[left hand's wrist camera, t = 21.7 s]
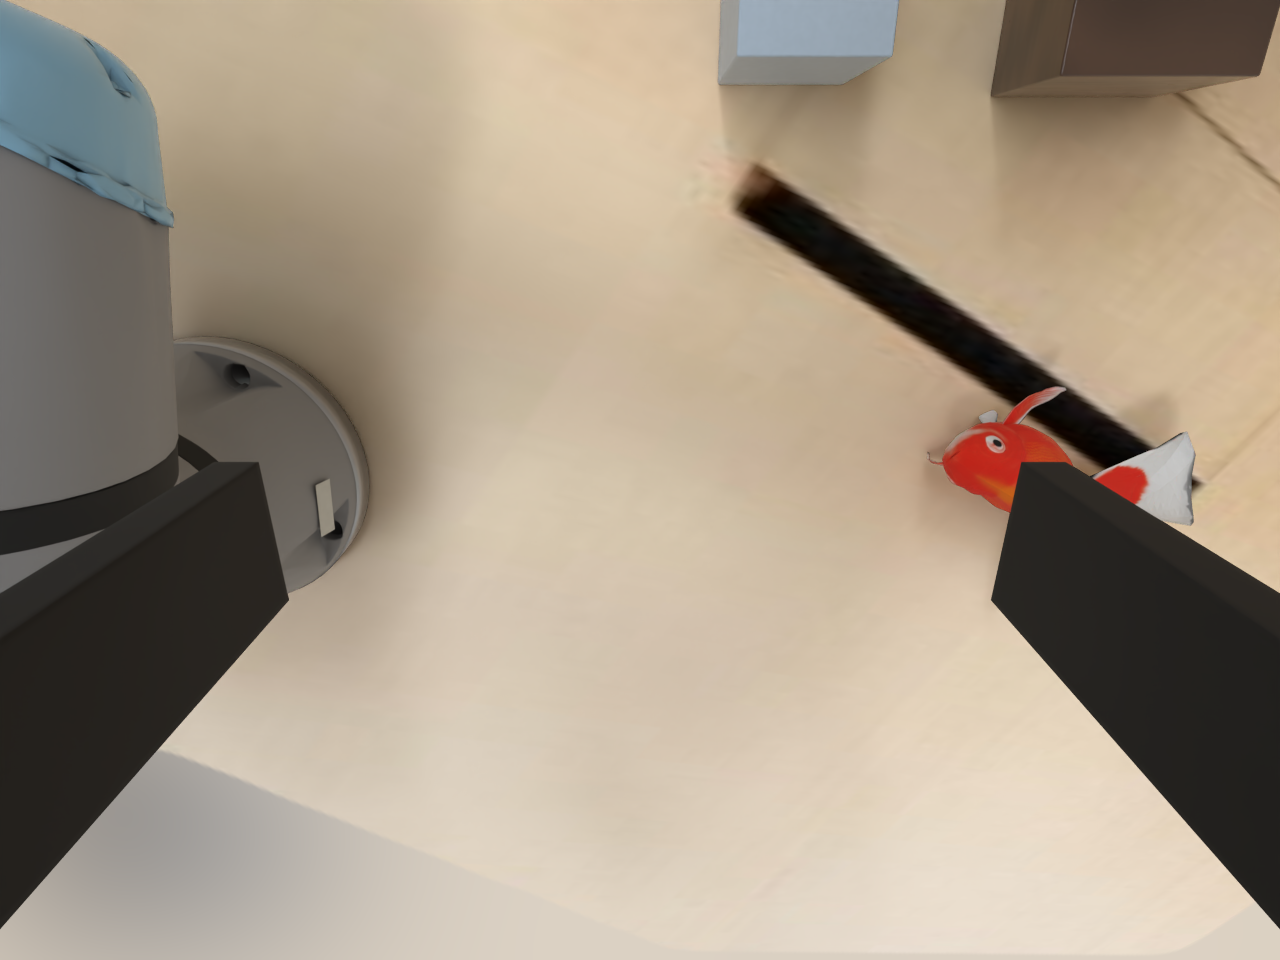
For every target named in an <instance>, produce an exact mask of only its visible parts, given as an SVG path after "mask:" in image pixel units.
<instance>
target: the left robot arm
mask: <svg viewBox="0 0 1280 960" xmlns="http://www.w3.org/2000/svg"><path fill="white" fill-rule="evenodd" d="M173 223H174V217H173V212H172V211H171V210H170V209H168V207H167V204H166V196H165V187H164V179H163V171H162V162H161V154H160V145H159V137H158V127H157V118H156V113H155V110H154V106H153V104H152V101H151V99H150V97H149V95H148V93H147V91H146V89H145V88H144V86H143V84H142V83H141V82H140V80H139V79H138V78H137V77H136V75H135V74H134V73H133V72H132V71H131V70H130V69H129V68H128V67H127V66H126V65H125V64H124V63H123V62H122V61H121V60H120V59H119V58H118V57H116V56H115V55H114V54H113V53H111V52H110V51H109V50H107V49H105V48H104V47H102V46H101V45H99V44H98V43H96V42H95V41H93V40H91V39H89V38H87V37H85V36H83V35H81V34H79V33H78V32H76V31H74V30H72V29H69V28H67V27H65V26H63V25H61V24H58V23H56V22H54V21H52V20H49V19H47V18H45V17H43V16H40V15H38V14H36V13H34V12H31V11H29V10H27V9H24V8H22V7H20V6H17V5H15V4H13V3H10V2H8V1H6V0H0V929H1V927H2V926H3V925H4V924H5V923H6V922H7V921H8V920H9V918H10V917H11V916H12V915H13V914H14V913H15V912H16V910H17V909H18V908H19V907H20V906H21V905H22V904H23V902H24V901H25V900H26V899H27V898H28V897H29V896H30V894H31V893H32V892H33V891H34V890H35V889H36V888H37V886H38V885H39V884H40V883H41V882H42V881H43V880H44V879H45V877H46V876H47V875H48V874H49V873H50V872H51V871H52V869H53V868H54V867H55V866H56V865H57V864H58V863H59V861H60V860H61V859H62V858H63V857H64V856H65V855H66V853H67V852H68V851H69V850H70V849H71V848H72V847H73V845H74V844H75V843H76V842H77V841H78V840H79V839H80V838H81V836H82V835H83V834H84V833H85V832H86V831H87V830H88V828H89V827H90V826H91V825H92V824H93V823H94V822H95V820H96V819H97V818H98V817H99V816H100V815H101V814H102V812H103V811H104V810H105V809H106V808H107V807H108V806H109V804H110V803H111V802H112V801H113V800H114V799H115V798H116V797H117V795H118V794H119V793H120V792H121V791H122V790H123V789H124V787H125V786H126V785H127V784H128V783H129V782H130V781H131V779H132V778H133V777H134V776H135V775H136V774H137V773H138V771H139V770H140V769H141V768H142V767H143V766H144V765H145V763H146V762H147V761H148V760H149V759H150V758H151V757H152V755H153V754H154V753H155V752H156V751H157V750H158V749H159V748H160V746H161V745H162V744H163V743H164V742H165V741H166V740H167V738H168V737H169V736H170V735H171V734H172V733H173V732H174V730H175V729H176V728H177V727H178V726H179V725H180V724H181V723H182V721H183V720H184V719H185V718H186V717H187V716H188V715H189V713H190V712H191V711H192V710H193V709H194V708H195V707H196V705H197V704H198V703H199V702H200V701H201V700H202V699H203V697H204V696H205V695H206V694H207V693H208V692H209V691H210V689H211V688H212V687H213V686H214V685H215V684H216V683H217V681H218V680H219V679H220V678H221V677H222V676H223V675H224V674H225V672H226V671H227V670H228V669H229V668H230V667H231V666H232V664H233V663H234V662H235V661H236V660H237V659H238V658H239V656H240V655H241V654H242V653H243V652H244V651H245V650H246V648H247V647H248V646H249V645H250V644H251V643H252V642H253V640H254V639H255V638H256V637H257V636H258V635H259V634H260V633H261V631H262V630H263V629H264V628H265V627H266V626H267V625H268V623H269V622H270V621H271V620H272V619H273V618H274V617H275V615H276V614H277V613H278V612H279V611H280V610H281V609H282V607H283V606H284V605H285V604H286V603H287V602H288V601H289V598H288V593H290V592H292V591H295V590H297V589H300V588H302V587H304V586H306V585H308V584H310V583H311V582H313V581H315V580H316V579H317V578H319V577H320V576H322V575H323V574H324V573H325V572H326V571H327V570H329V569H330V568H331V567H332V566H333V564H334V563H335V562H336V561H337V560H338V559H339V558H340V556H341V555H342V554H343V553H344V552H345V550H346V549H347V548H348V547H349V546H350V544H351V543H352V541H353V540H354V539H355V537H356V535H357V533H358V532H359V530H360V528H361V525H362V523H363V520H364V518H365V514H366V510H367V506H368V499H369V473H368V467H367V461H366V457H365V454H364V450H363V447H362V445H361V442H360V439H359V437H358V435H357V433H356V431H355V429H354V427H353V425H352V423H351V421H350V420H349V418H348V417H347V415H346V413H345V412H344V410H343V409H342V408H341V406H340V405H339V404H338V402H337V401H336V400H335V399H334V398H333V397H332V395H331V394H330V393H329V392H328V391H327V390H326V389H325V388H324V387H323V386H322V385H321V384H320V383H319V382H318V381H317V380H316V379H314V378H313V377H312V376H311V375H309V374H308V373H307V372H306V371H304V370H303V369H301V368H300V367H298V366H297V365H295V364H294V363H293V362H291V361H289V360H287V359H286V358H284V357H282V356H280V355H278V354H276V353H274V352H272V351H270V350H267V349H265V348H262V347H259V346H257V345H254V344H251V343H247V342H243V341H240V340H235V339H229V338H223V337H209V336H208V337H190V338H182V339H178V340H173V328H172V310H171V291H170V262H169V229H168V227H171V228H173ZM991 601H992V602H993V603H994V604H995V605H996V606H997V607H998V609H999V610H1000V611H1001V612H1002V613H1003V614H1004V615H1005V617H1006V618H1007V619H1008V620H1009V621H1010V622H1011V623H1012V625H1013V626H1014V627H1015V628H1016V629H1017V630H1018V631H1019V633H1020V634H1021V635H1022V636H1023V637H1024V638H1025V639H1026V640H1027V642H1028V643H1029V644H1030V645H1031V646H1032V647H1033V648H1034V650H1035V651H1036V652H1037V653H1038V654H1039V655H1040V656H1041V658H1042V659H1043V660H1044V661H1045V662H1046V663H1047V664H1048V666H1049V667H1050V668H1051V669H1052V670H1053V671H1054V672H1055V674H1056V675H1057V676H1058V677H1059V678H1060V679H1061V680H1062V681H1063V683H1064V684H1065V685H1066V686H1067V687H1068V688H1069V689H1070V691H1071V692H1072V693H1073V694H1074V695H1075V696H1076V697H1077V699H1078V700H1079V701H1080V702H1081V703H1082V704H1083V705H1084V707H1085V708H1086V709H1087V710H1088V711H1089V712H1090V713H1091V715H1092V716H1093V717H1094V718H1095V719H1096V720H1097V721H1098V723H1099V724H1100V725H1101V726H1102V727H1103V728H1104V729H1105V730H1106V732H1107V733H1108V734H1109V735H1110V736H1111V737H1112V738H1113V740H1114V741H1115V742H1116V743H1117V744H1118V745H1119V746H1120V748H1121V749H1122V750H1123V751H1124V752H1125V753H1126V754H1127V756H1128V757H1129V758H1130V759H1131V760H1132V761H1133V762H1134V764H1135V765H1136V766H1137V767H1138V768H1139V769H1140V770H1141V771H1142V773H1143V774H1144V775H1145V776H1146V777H1147V778H1148V779H1149V781H1150V782H1151V783H1152V784H1153V785H1154V786H1155V787H1156V789H1157V790H1158V791H1159V792H1160V793H1161V794H1162V795H1163V797H1164V798H1165V799H1166V800H1167V801H1168V802H1169V803H1170V805H1171V806H1172V807H1173V808H1174V809H1175V810H1176V811H1177V812H1178V814H1179V815H1180V816H1181V817H1182V818H1183V819H1184V820H1185V822H1186V823H1187V824H1188V825H1189V826H1190V827H1191V828H1192V830H1193V831H1194V832H1195V833H1196V834H1197V835H1198V836H1199V838H1200V839H1201V840H1202V841H1203V842H1204V843H1205V844H1206V846H1207V847H1208V848H1209V849H1210V850H1211V851H1212V852H1213V853H1214V855H1215V856H1216V857H1217V858H1218V859H1219V860H1220V861H1221V863H1222V864H1223V865H1224V866H1225V867H1226V868H1227V869H1228V871H1229V872H1230V873H1231V874H1232V875H1233V876H1234V877H1235V879H1236V880H1237V881H1238V882H1239V883H1240V884H1241V885H1242V887H1243V888H1244V889H1245V890H1246V891H1247V892H1248V893H1249V894H1250V896H1251V897H1252V898H1253V899H1254V900H1255V901H1256V902H1257V904H1258V905H1259V906H1260V907H1261V908H1262V909H1263V910H1264V912H1265V913H1266V914H1267V915H1268V916H1269V917H1270V918H1271V920H1272V921H1273V922H1274V923H1275V924H1276V925H1277V926H1278V928H1279V929H1280V593H1278V592H1277V591H1275V590H1274V589H1272V588H1270V587H1269V586H1267V585H1265V584H1264V583H1262V582H1260V581H1259V580H1257V579H1256V578H1254V577H1252V576H1251V575H1249V574H1247V573H1246V572H1244V571H1243V570H1241V569H1239V568H1238V567H1236V566H1234V565H1233V564H1231V563H1230V562H1228V561H1226V560H1225V559H1223V558H1221V557H1220V556H1218V555H1217V554H1215V553H1213V552H1212V551H1210V550H1208V549H1207V548H1205V547H1204V546H1202V545H1200V544H1199V543H1197V542H1195V541H1194V540H1192V539H1191V538H1189V537H1187V536H1186V535H1184V534H1182V533H1181V532H1179V531H1177V530H1176V529H1174V528H1173V527H1171V526H1169V525H1168V524H1166V523H1164V522H1163V521H1161V520H1160V519H1158V518H1156V517H1155V516H1153V515H1151V514H1150V513H1148V512H1147V511H1145V510H1143V509H1142V508H1140V507H1138V506H1137V505H1135V504H1134V503H1132V502H1130V501H1129V500H1127V499H1125V498H1124V497H1122V496H1121V495H1119V494H1117V493H1116V492H1114V491H1112V490H1111V489H1109V488H1107V487H1106V486H1104V485H1103V484H1101V483H1099V482H1098V481H1096V480H1094V479H1093V478H1091V477H1090V476H1088V475H1086V474H1085V473H1083V472H1081V471H1080V470H1078V469H1077V468H1075V467H1073V466H1072V465H1070V464H1068V463H1067V462H1021V465H1020V470H1019V474H1018V479H1017V484H1016V488H1015V493H1014V497H1013V502H1012V506H1011V511H1010V516H1009V520H1008V525H1007V529H1006V534H1005V538H1004V543H1003V548H1002V552H1001V557H1000V561H999V566H998V570H997V575H996V580H995V584H994V589H993V593H992V598H991Z"/></svg>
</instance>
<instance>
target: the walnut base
mask: <svg viewBox="0 0 1280 960" xmlns="http://www.w3.org/2000/svg"><path fill="white" fill-rule="evenodd" d="M1279 7H1280V0H1007V2H1006V8H1005V14H1004V20H1003V26H1002V32H1001V38H1000V44H999V50H998V56H997V62H996V68H995V74H994V80H993V86H992V92H991V96H993V97H1157V96H1162V95H1167V94H1172V93H1177V92H1182V91H1187V90H1192V89H1197V88H1202V87H1207V86H1212V85H1217V84H1222V83H1227V82H1232V81H1237V80H1242V79H1247V78H1253V77H1257V76H1259V75H1260V73H1261V69H1262V66H1263V62H1264V59H1265V55H1266V52H1267V49H1268V45H1269V42H1270V38H1271V35H1272V31H1273V28H1274V25H1275V21H1276V18H1277V14H1278V11H1279Z"/></svg>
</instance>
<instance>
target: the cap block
mask: <svg viewBox="0 0 1280 960" xmlns="http://www.w3.org/2000/svg"><path fill="white" fill-rule="evenodd" d="M898 5H899V0H721V12H720V39H719V66H718V84H720V85H842V84H844V83H846V82H848V81H850V80H851V79H853V78H855V77H857V76H858V75H860V74H862V73H864V72H866V71H867V70H869V69H871V68H873V67H874V66H876V65H878V64H880V63H881V62H883V61H885V60H887V59H888V58H890V57H892V55H893V48H894V39H895V31H896V22H897V14H898Z"/></svg>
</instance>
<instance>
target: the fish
mask: <svg viewBox="0 0 1280 960" xmlns="http://www.w3.org/2000/svg"><path fill="white" fill-rule="evenodd" d="M1063 391H1066V389H1065V387H1060V386H1055V387H1051V388H1048V389H1045V390H1043V391H1041V392H1038V393H1035V394H1032V395H1030V396H1028V397H1027V398H1025V399H1024V400H1023V401H1022V402H1020V403H1019V404H1018V405H1016V406H1015V407H1014V408H1013V409H1012V411H1011V412H1010V413H1009V415H1008V416H1007V417H1006V419H1005V420H1004V421H1003V422H997V416H998V414H997V412H996V411H994V410H991V411H988V412H986V413H984V414H982V415H980V416H979V419H980V421H981V422H982V423H981V424H977V425H975V426H973V427H971V428H969V429H967V430H965V431H963V432H962V433H960V434H959V435H957V436H956V437H955V438H954V439H953V441H952V442H951V443H950V444H949V445H948V446H947V448H946V449H945V452H944V456H943V459H942V461H943V462H939V463H938V462H935V461H932V460H930V455H929V453H927V459H928V460H929V461H930V462H931V463H934V464H938V465H942V466H944V469H945V471H946V474H947V477H948V479H949V480H950V481H951V482H952V483H953V484H955V485H958V486H960V487H963V488H965V489H966V490H968V491H969V492H971V493H973V494H977V495H982V496H983V497H984V498H985V499H986V500H988V501H989V502H990V503H991V504H993V505H994V506H995V507H997V508H999V509H1002V510H1005V511H1007V512H1010V511H1011V506H1012V502H1013V497H1014V493H1015V488H1016V484H1017V479H1018V474H1019V470H1020V465H1021V462H1067V463H1068V464H1070V465H1072V463H1071V461H1070V459H1069V458H1068V456H1067V455H1066V454H1065V453H1064V451H1063V450H1062V449H1061V448H1060V447H1059V446H1058V444H1057V443H1056V442H1055V441H1054V440H1053V439H1052V438H1050V437H1049V436H1047V435H1045V434H1043V433H1041V432H1040V431H1038V430H1036V429H1034V428H1031V427H1029V426H1026V425H1021V424H1019V423H1020V422H1021V421H1022V420H1023V419H1024V418H1025V416H1026V415H1027V414H1028V413H1029V411H1030V410H1031V409H1033V408H1035V407H1036V406H1039V405H1041V404H1043V403H1045V402H1047V401H1049V400H1051V399H1053V398H1054V397H1056V396H1057V395H1058V394H1060V393H1061V392H1063ZM1194 460H1195V452H1194V449H1193V446H1192V444H1191V441H1190V438H1189V436H1188V433H1187V432H1183V433H1180V434H1178V435H1177V436H1175V437H1173V438H1172V439H1170V440H1168V441H1167V442H1165V443H1164V444H1162V445H1160V446H1159V447H1157V448H1155V449H1152V450H1150V451H1148V452H1145V453H1143V454H1140V455H1138V456H1136V457H1133V458H1131V459H1129V460H1126V461H1124V462H1122V463H1119V464H1117V465H1115V466H1113V467H1110V468H1108V469H1106V470H1103V471H1101V472H1099V473H1097V474H1094V475H1092V476H1090V477H1091V478H1093V479H1094V480H1096V481H1098V482H1099V483H1101V484H1103V485H1104V486H1106V487H1107V488H1109V489H1111V490H1112V491H1114V492H1116V493H1117V494H1119V495H1121V496H1122V497H1124V498H1125V499H1127V500H1129V501H1130V502H1132V503H1134V504H1135V505H1137V506H1138V507H1140V508H1142V509H1143V510H1145V511H1147V512H1148V513H1150V514H1151V515H1153V516H1155V517H1156V518H1158V519H1160V520H1161V521H1166V522H1172V523H1177V524H1183V525H1190V526H1191V525H1192V523H1193V522H1194V520H1193V510H1192V501H1191V477H1192V471H1193V466H1194ZM1072 466H1073V465H1072Z"/></svg>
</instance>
